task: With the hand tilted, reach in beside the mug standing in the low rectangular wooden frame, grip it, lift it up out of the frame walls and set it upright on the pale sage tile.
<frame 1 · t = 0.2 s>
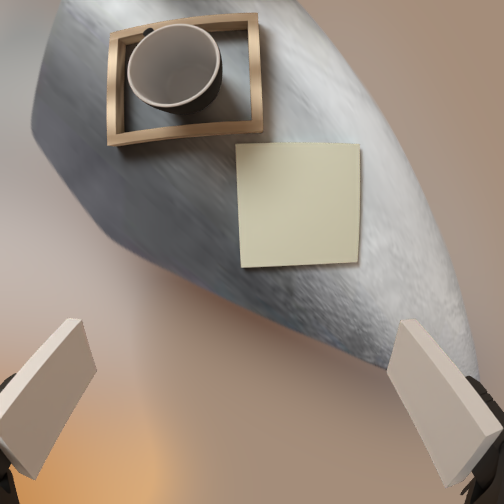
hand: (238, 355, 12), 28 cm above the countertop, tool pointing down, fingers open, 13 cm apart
tile: (299, 204, 37), on the countertop
rectangular wooden frame: (184, 78, 33), on the countertop
mug: (184, 79, 33), resting in rectangular wooden frame
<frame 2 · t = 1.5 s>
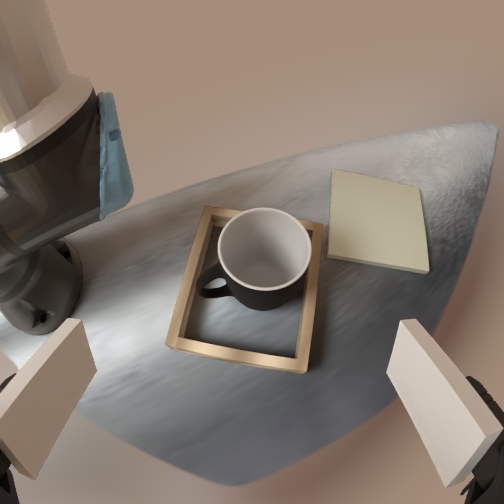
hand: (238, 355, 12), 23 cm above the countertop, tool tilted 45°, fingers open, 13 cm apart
tile: (378, 220, 42), on the countertop
rectangular wooden frame: (250, 289, 38), on the countertop
mug: (250, 289, 38), resting in rectangular wooden frame
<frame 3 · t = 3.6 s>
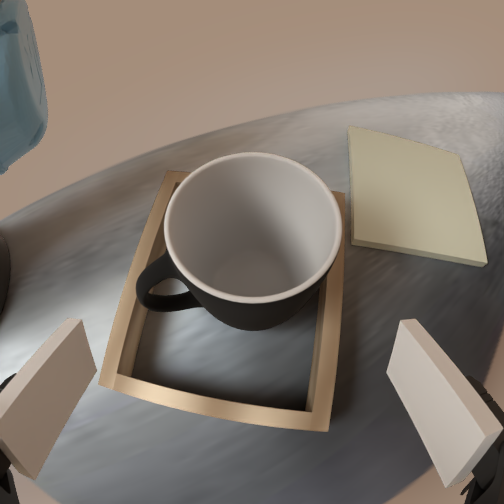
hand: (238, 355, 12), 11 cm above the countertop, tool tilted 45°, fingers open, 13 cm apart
tile: (416, 193, 29), on the countertop
rectangular wooden frame: (234, 295, 24), on the countertop
mug: (234, 296, 24), resting in rectangular wooden frame
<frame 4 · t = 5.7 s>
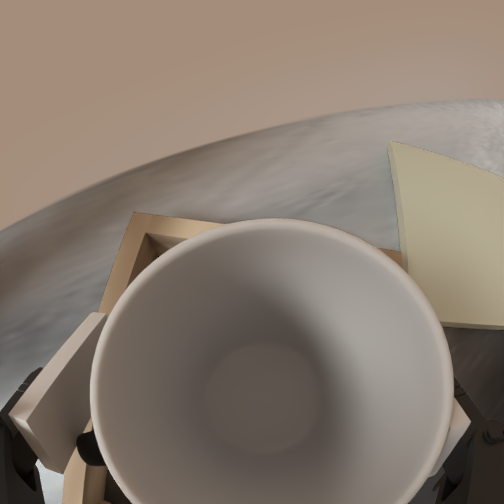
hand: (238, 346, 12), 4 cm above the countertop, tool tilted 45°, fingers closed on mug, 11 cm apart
tile: (475, 237, 20), on the countertop
rectangular wooden frame: (237, 408, 15), on the countertop
mug: (237, 408, 15), resting in rectangular wooden frame, touching gripper
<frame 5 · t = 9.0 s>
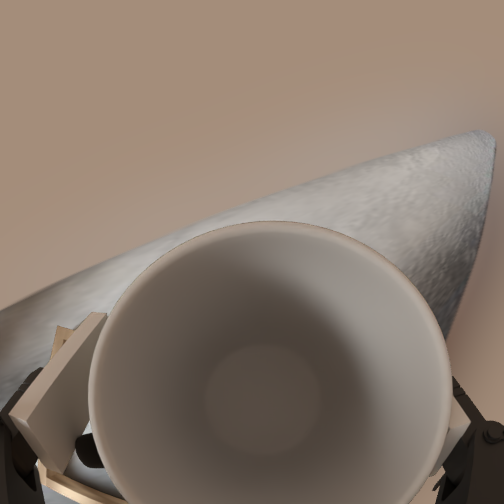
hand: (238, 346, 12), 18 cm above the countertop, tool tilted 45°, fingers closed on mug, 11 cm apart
rectangular wooden frame: (115, 431, 25), on the countertop
mug: (236, 410, 15), point 13 cm above the countertop, touching gripper
when the fingers open (7 cm above the countertop, at t = 12.1 s): mug drops 1 cm, resting on tile.
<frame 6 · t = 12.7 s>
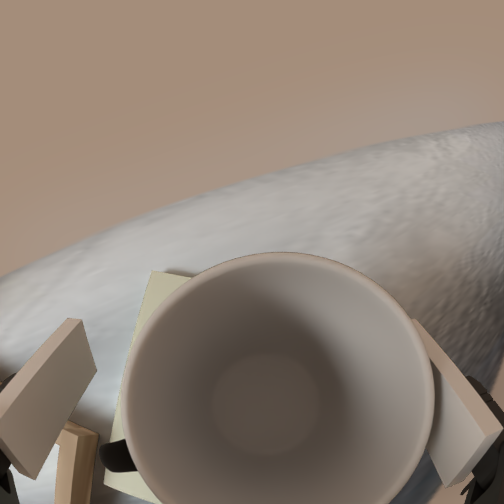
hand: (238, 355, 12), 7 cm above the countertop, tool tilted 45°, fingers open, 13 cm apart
tile: (243, 408, 17), on the countertop
rectangular wooden frame: (9, 489, 12), on the countertop
mug: (241, 414, 16), point 1 cm above the countertop, touching tile
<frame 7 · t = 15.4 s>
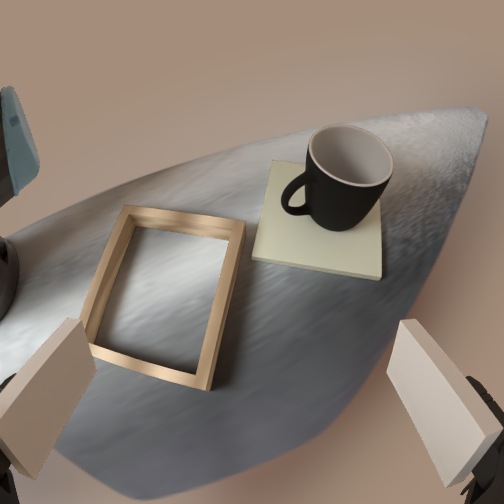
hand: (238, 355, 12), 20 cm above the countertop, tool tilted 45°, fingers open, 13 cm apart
tile: (322, 216, 38), on the countertop
rectangular wooden frame: (162, 293, 33), on the countertop
mug: (322, 215, 37), point 1 cm above the countertop, touching tile
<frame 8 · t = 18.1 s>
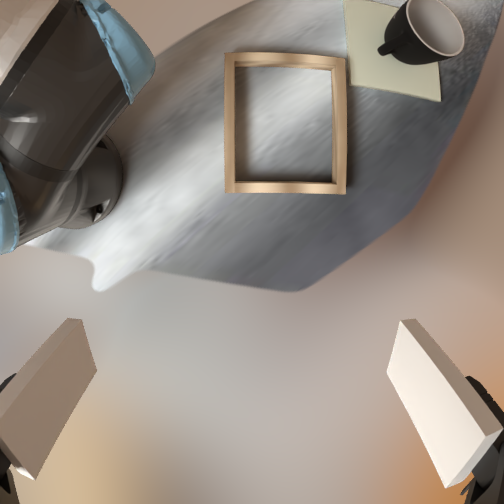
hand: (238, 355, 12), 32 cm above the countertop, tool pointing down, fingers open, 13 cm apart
tile: (393, 48, 34), on the countertop
rectangular wooden frame: (284, 122, 38), on the countertop
mug: (395, 48, 33), point 1 cm above the countertop, touching tile
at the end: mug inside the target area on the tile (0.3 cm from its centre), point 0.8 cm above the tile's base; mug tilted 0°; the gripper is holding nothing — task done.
